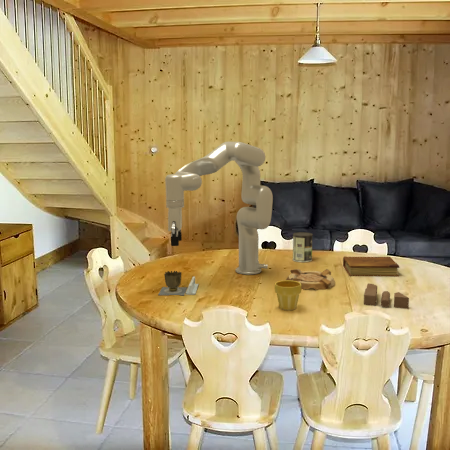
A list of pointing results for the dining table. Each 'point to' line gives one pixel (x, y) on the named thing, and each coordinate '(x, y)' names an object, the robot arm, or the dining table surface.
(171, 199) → the robot arm
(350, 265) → the diary
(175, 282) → the ornate metal lamp shade
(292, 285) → the plant pot
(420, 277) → the dining table surface
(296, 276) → the ashtray
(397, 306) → the wooden block set
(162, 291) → the rest pad
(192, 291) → the low wall
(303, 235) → the coffee can
